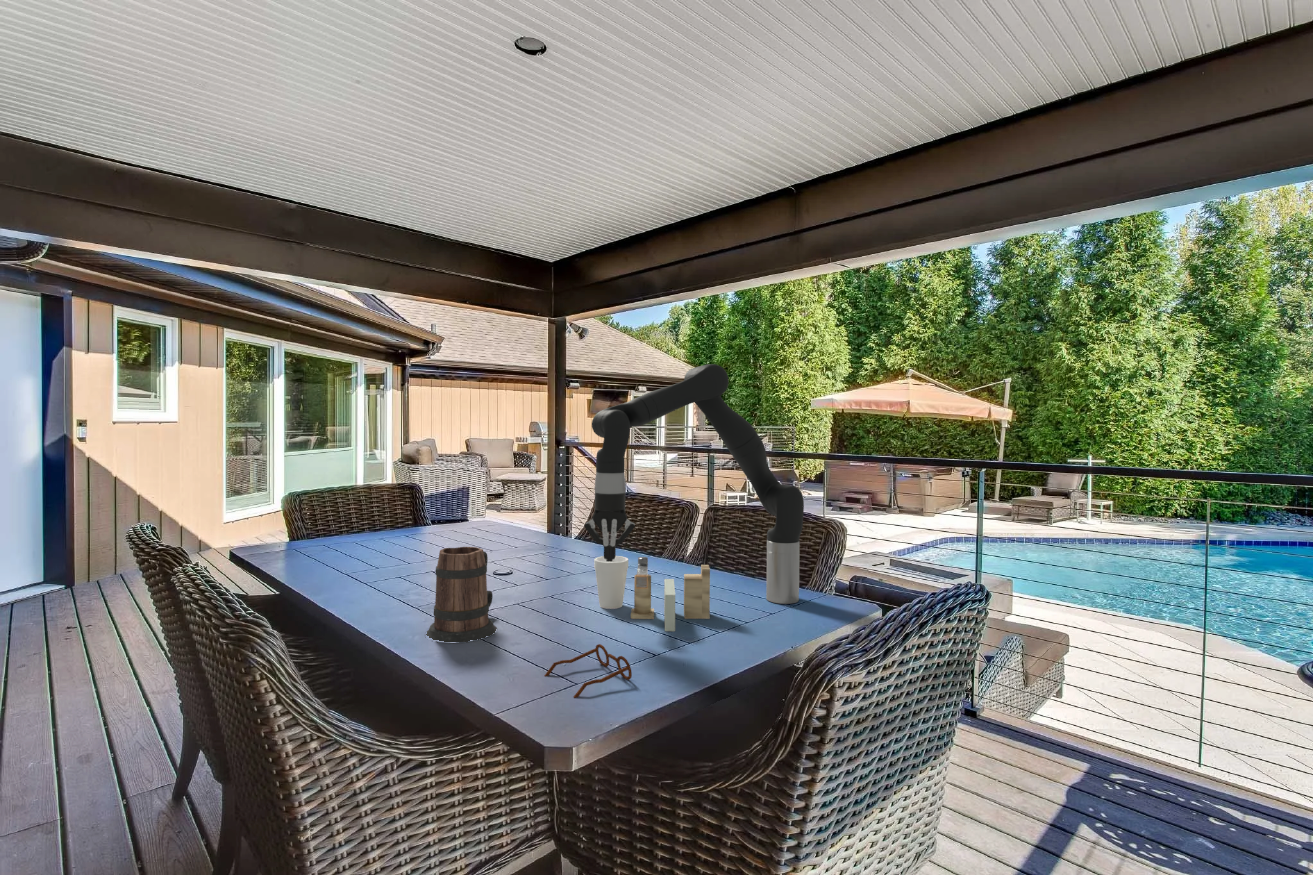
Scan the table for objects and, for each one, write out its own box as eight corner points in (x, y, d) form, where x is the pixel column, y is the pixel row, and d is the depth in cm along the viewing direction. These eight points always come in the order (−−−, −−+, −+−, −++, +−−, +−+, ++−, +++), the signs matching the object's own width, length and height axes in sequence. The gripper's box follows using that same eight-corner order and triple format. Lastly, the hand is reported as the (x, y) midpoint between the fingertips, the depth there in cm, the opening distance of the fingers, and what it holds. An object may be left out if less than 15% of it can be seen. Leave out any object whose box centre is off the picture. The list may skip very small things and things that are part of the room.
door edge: (664, 612, 175) (664, 578, 175) (673, 612, 175) (673, 579, 175) (664, 631, 159) (665, 594, 159) (675, 631, 159) (675, 594, 159)
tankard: (478, 645, 149) (478, 558, 148) (410, 640, 152) (410, 555, 151) (518, 615, 172) (518, 540, 171) (459, 612, 175) (459, 537, 174)
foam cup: (600, 612, 175) (600, 563, 175) (589, 603, 184) (589, 557, 183) (633, 608, 179) (633, 561, 179) (621, 599, 188) (621, 554, 187)
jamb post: (631, 612, 175) (631, 573, 175) (654, 612, 175) (654, 573, 175) (630, 618, 169) (631, 578, 169) (653, 618, 169) (654, 578, 169)
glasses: (633, 684, 128) (633, 659, 128) (574, 700, 121) (574, 673, 121) (599, 663, 139) (599, 640, 139) (543, 677, 131) (543, 653, 131)
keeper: (683, 612, 175) (684, 564, 175) (708, 613, 175) (708, 564, 175) (684, 618, 170) (684, 568, 170) (709, 618, 170) (709, 569, 170)
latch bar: (637, 573, 174) (637, 556, 174) (648, 573, 174) (648, 556, 174) (635, 588, 158) (635, 569, 158) (647, 588, 158) (647, 569, 158)
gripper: (637, 489, 164) (636, 558, 165) (585, 489, 165) (584, 557, 165) (636, 492, 157) (635, 564, 157) (581, 492, 157) (580, 563, 157)
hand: (609, 560), depth 161 cm, fingers closed
